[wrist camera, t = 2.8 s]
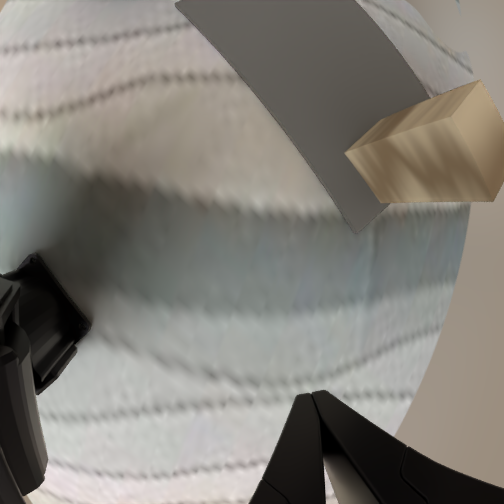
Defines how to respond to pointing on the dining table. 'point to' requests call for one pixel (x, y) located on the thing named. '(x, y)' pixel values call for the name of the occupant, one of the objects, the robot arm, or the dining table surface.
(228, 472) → the dining table surface
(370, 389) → the dining table surface
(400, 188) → the birch block
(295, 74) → the charcoal rubber mat
